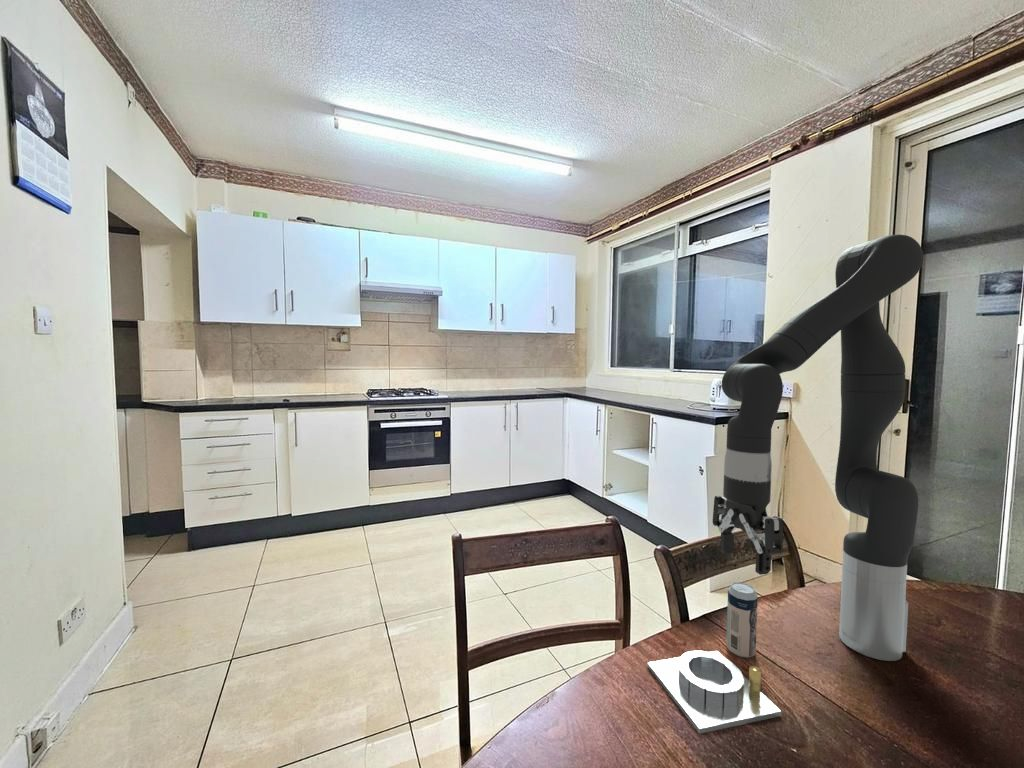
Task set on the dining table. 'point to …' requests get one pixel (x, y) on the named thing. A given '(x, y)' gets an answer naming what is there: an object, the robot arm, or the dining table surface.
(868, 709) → the dining table surface
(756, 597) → the beer can
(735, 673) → the flange collar
